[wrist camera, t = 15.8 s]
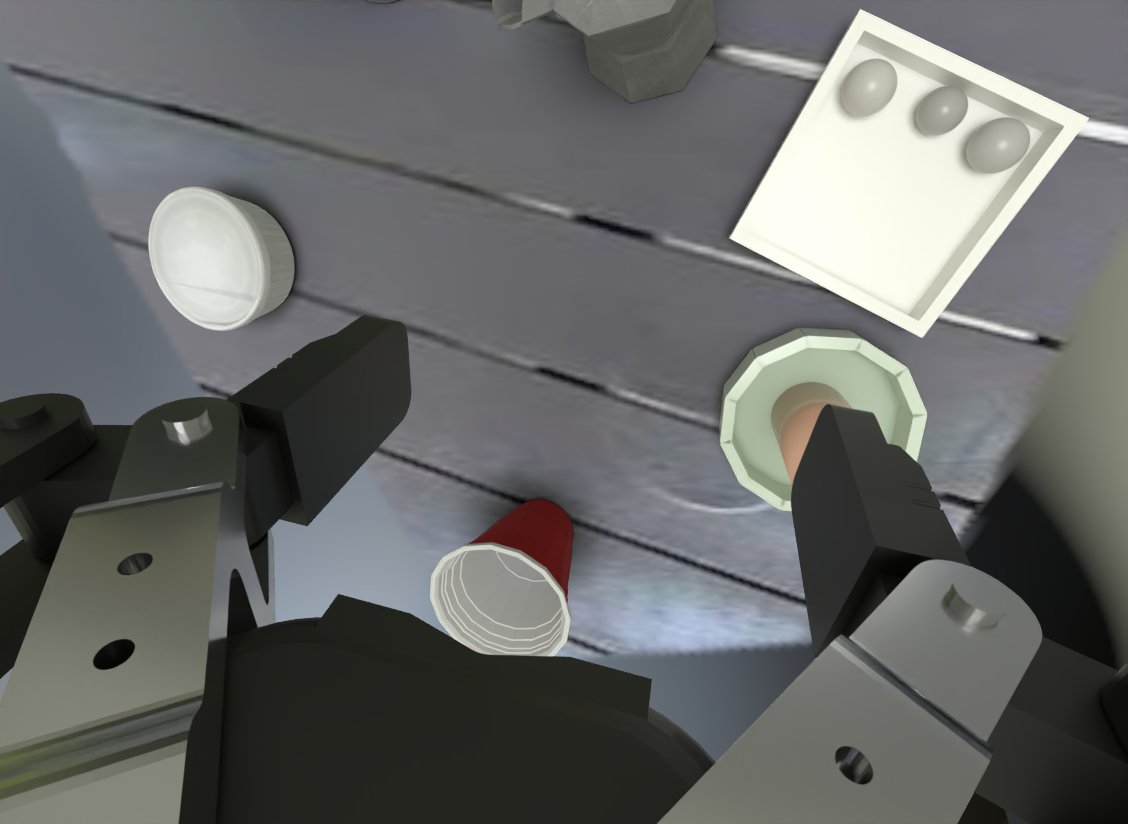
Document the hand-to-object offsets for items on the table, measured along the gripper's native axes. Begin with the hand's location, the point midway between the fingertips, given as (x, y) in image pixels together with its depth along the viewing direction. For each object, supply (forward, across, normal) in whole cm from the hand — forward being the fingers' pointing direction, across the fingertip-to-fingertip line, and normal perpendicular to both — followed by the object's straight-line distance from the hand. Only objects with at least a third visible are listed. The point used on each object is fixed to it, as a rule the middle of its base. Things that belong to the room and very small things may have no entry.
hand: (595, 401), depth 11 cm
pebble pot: (+30, -13, +16) cm, 36 cm away
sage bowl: (+30, -13, +16) cm, 36 cm away
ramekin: (+33, +36, +13) cm, 50 cm away
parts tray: (+34, -13, 0) cm, 36 cm away
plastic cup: (+27, +6, +31) cm, 42 cm away
